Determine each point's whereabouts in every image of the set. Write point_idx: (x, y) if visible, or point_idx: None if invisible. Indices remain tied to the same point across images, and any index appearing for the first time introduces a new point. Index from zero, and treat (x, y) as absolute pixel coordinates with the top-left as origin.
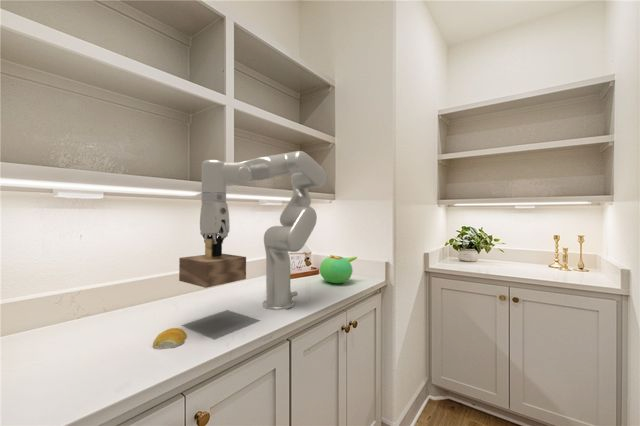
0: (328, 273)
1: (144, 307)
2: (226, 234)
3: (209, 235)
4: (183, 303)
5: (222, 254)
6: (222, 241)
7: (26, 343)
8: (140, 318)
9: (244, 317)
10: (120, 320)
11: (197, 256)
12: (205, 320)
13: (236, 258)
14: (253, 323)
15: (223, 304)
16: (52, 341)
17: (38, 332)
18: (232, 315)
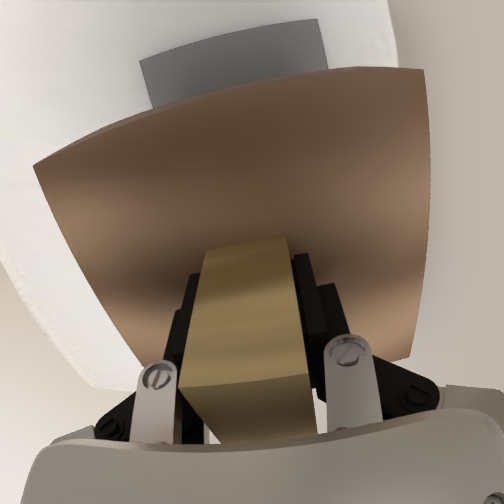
0: None
1: (12, 247)
2: (501, 411)
3: (125, 437)
4: (9, 165)
5: (125, 167)
6: (385, 360)
7: (130, 381)
8: (78, 267)
9: (252, 41)
10: (76, 296)
11: (153, 336)
12: None
13: (429, 174)
14: (323, 47)
15: (68, 57)
16: (138, 367)
17: (92, 370)
18: (204, 64)
